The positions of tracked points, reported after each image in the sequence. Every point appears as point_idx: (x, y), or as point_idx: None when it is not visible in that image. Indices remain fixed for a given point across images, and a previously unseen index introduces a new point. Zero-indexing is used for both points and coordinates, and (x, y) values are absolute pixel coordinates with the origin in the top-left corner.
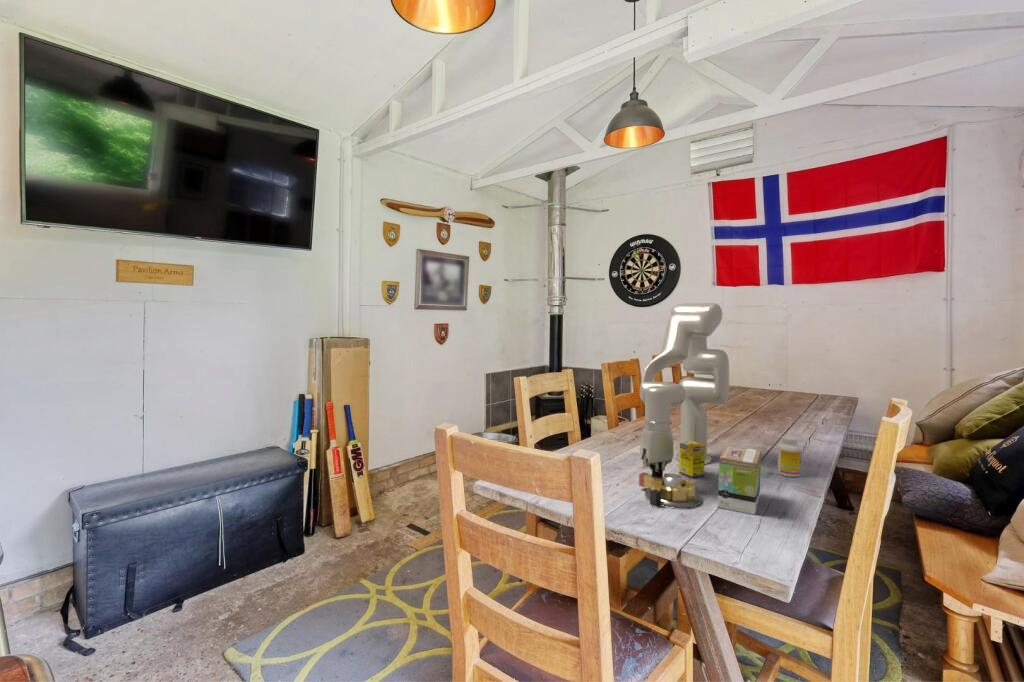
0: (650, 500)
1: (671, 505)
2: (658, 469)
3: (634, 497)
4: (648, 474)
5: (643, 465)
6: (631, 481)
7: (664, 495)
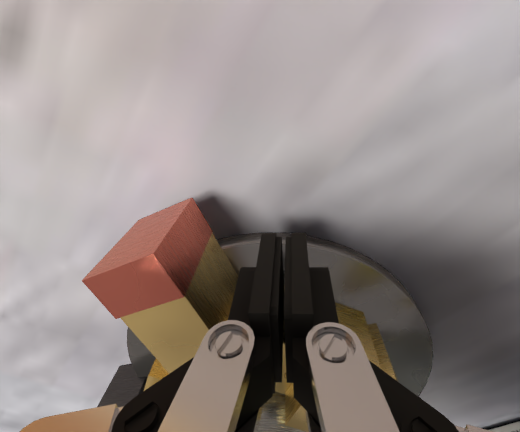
0: (108, 390)
1: None
2: (256, 415)
3: (76, 284)
4: (179, 310)
5: (34, 430)
6: (173, 8)
7: None
